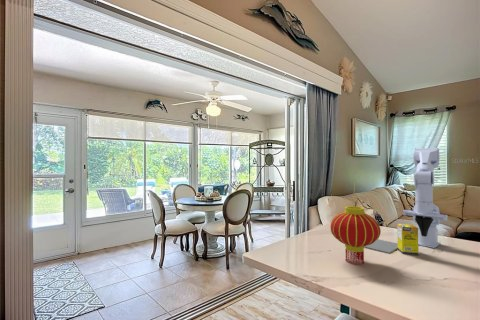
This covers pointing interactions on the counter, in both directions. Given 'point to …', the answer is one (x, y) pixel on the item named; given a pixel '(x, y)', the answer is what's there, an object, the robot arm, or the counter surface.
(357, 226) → the lantern
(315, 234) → the counter surface
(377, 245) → the rubber mat
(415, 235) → the supplement box
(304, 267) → the counter surface
